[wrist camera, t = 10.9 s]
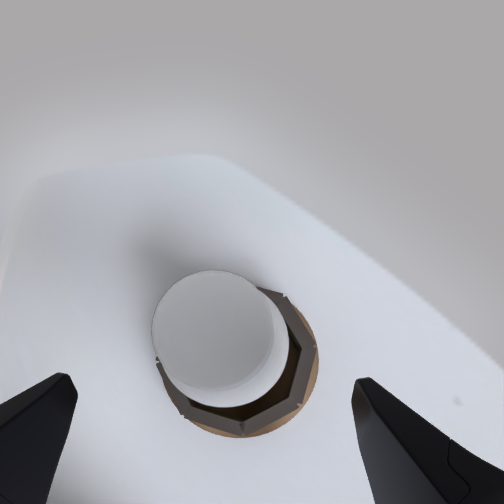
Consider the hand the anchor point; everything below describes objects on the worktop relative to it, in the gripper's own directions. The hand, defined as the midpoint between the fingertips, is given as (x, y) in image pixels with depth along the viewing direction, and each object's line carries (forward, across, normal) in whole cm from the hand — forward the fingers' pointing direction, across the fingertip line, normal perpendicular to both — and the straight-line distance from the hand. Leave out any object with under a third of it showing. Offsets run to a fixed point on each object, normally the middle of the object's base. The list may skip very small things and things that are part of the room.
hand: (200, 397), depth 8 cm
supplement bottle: (+9, 0, +6) cm, 10 cm away
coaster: (+9, 0, +6) cm, 11 cm away
